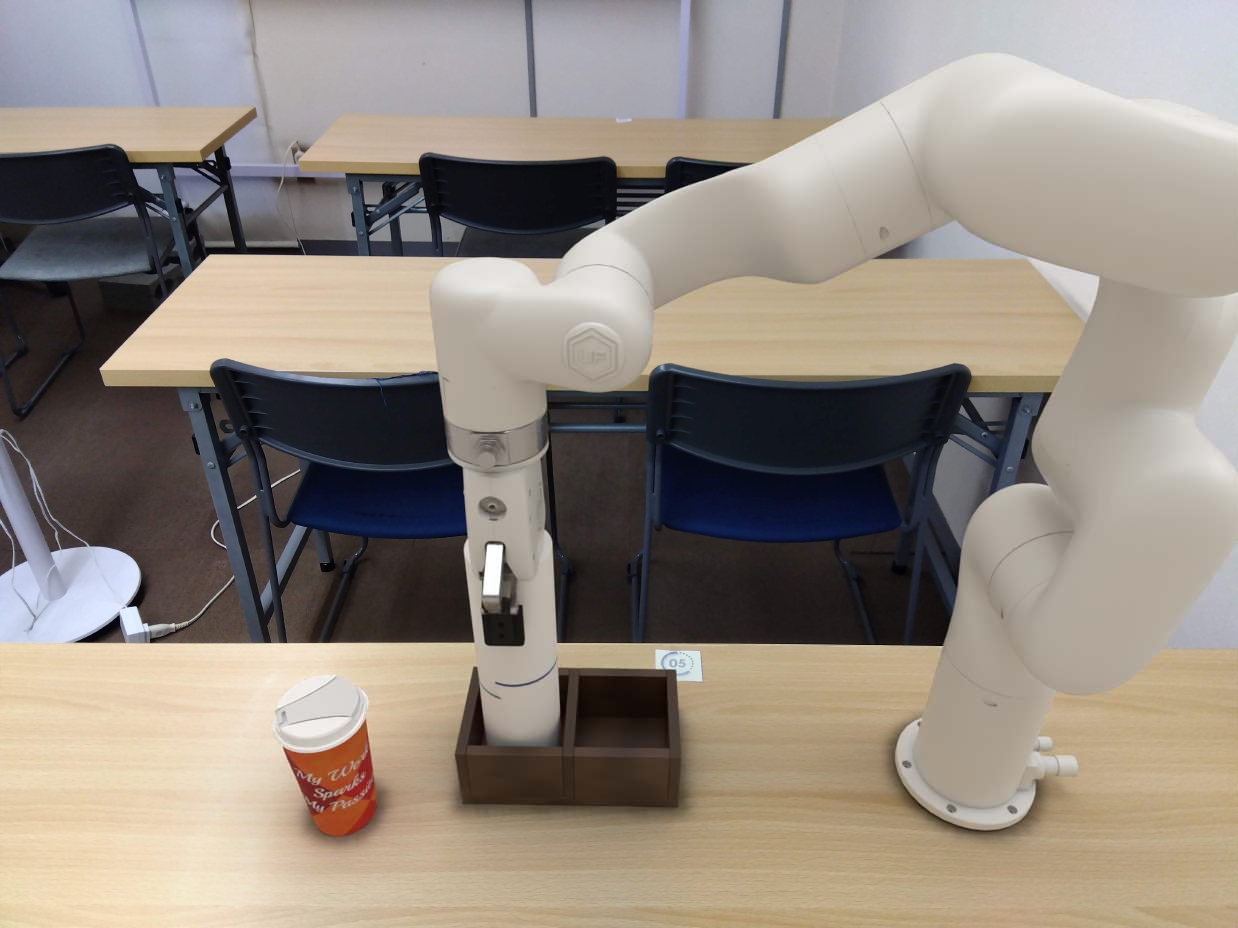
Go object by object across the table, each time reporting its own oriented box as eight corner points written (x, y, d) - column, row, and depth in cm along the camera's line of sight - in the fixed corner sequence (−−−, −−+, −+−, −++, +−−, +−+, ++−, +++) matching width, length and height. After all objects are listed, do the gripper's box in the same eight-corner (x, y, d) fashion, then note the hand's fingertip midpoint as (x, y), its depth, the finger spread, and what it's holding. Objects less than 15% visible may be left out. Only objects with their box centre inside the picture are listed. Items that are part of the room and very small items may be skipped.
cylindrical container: (550, 786, 79) (538, 579, 66) (477, 773, 80) (450, 567, 67) (569, 726, 85) (562, 525, 72) (501, 714, 86) (481, 514, 73)
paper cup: (310, 861, 74) (277, 755, 67) (295, 793, 80) (262, 688, 72) (399, 824, 77) (377, 719, 70) (378, 761, 83) (355, 658, 75)
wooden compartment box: (673, 717, 88) (676, 668, 84) (677, 807, 79) (681, 757, 75) (479, 714, 88) (473, 665, 84) (461, 803, 79) (454, 753, 75)
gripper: (536, 496, 56) (547, 681, 65) (556, 376, 71) (563, 541, 80) (422, 495, 56) (449, 680, 65) (466, 375, 71) (483, 540, 80)
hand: (512, 603), depth 73 cm, fingers open, 9 cm apart
